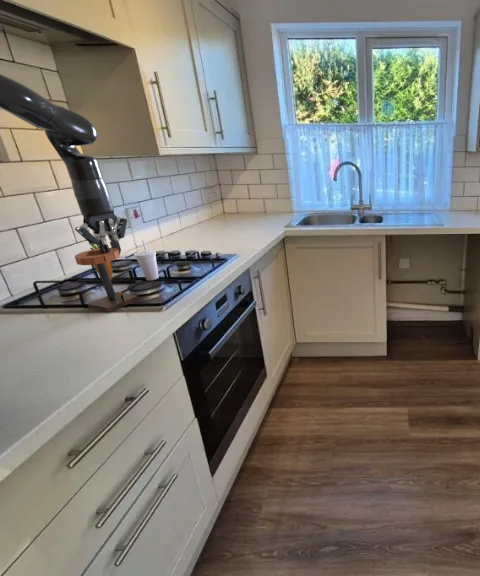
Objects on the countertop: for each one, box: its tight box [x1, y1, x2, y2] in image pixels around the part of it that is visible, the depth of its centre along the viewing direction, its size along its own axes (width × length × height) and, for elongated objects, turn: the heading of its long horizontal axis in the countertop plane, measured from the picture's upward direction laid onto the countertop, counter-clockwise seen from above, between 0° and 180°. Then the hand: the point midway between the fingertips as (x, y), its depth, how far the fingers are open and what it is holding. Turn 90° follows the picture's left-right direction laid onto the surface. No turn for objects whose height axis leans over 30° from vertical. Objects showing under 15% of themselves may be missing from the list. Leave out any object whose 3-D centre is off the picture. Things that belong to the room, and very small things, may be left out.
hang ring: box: [74, 247, 121, 266], centre depth 103 cm, size 10×10×2 cm
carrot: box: [88, 242, 113, 281], centre depth 122 cm, size 5×5×15 cm
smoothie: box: [134, 239, 160, 281], centre depth 125 cm, size 6×6×14 cm
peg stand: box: [87, 263, 139, 313], centre depth 106 cm, size 9×9×14 cm
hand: (112, 255), depth 107 cm, fingers closed on hang ring, 2 cm apart
